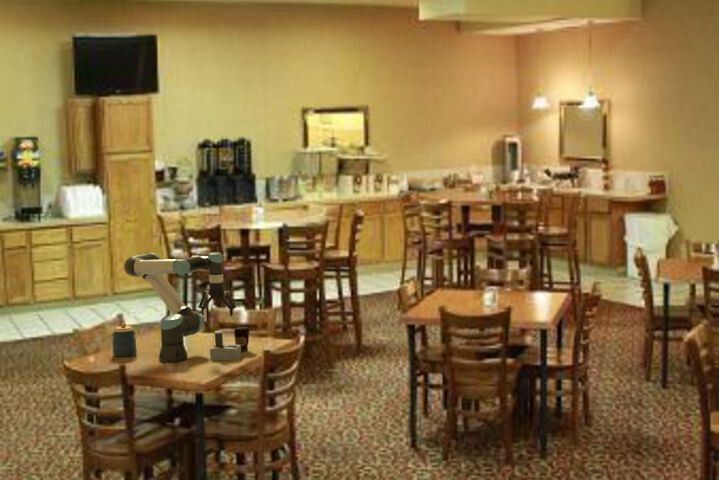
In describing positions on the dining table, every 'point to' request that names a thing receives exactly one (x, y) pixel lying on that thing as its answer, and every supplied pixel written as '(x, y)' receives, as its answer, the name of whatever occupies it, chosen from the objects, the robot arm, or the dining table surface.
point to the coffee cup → (242, 337)
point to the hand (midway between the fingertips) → (217, 321)
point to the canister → (124, 341)
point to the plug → (218, 339)
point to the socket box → (225, 352)
